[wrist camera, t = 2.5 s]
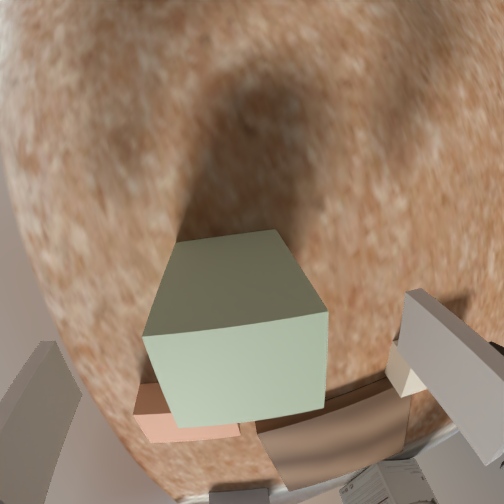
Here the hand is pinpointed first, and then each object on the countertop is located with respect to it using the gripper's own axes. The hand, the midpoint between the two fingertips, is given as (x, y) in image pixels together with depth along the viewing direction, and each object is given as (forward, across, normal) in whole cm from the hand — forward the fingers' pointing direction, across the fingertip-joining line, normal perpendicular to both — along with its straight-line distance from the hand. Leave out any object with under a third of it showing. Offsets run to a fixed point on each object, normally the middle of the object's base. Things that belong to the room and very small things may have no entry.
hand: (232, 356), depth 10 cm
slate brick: (+7, -3, -26) cm, 27 cm away
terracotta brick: (+7, -4, -8) cm, 11 cm away
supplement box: (+7, +13, -28) cm, 32 cm away
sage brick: (+6, 0, 0) cm, 6 cm away
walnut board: (+7, +7, -16) cm, 19 cm away
